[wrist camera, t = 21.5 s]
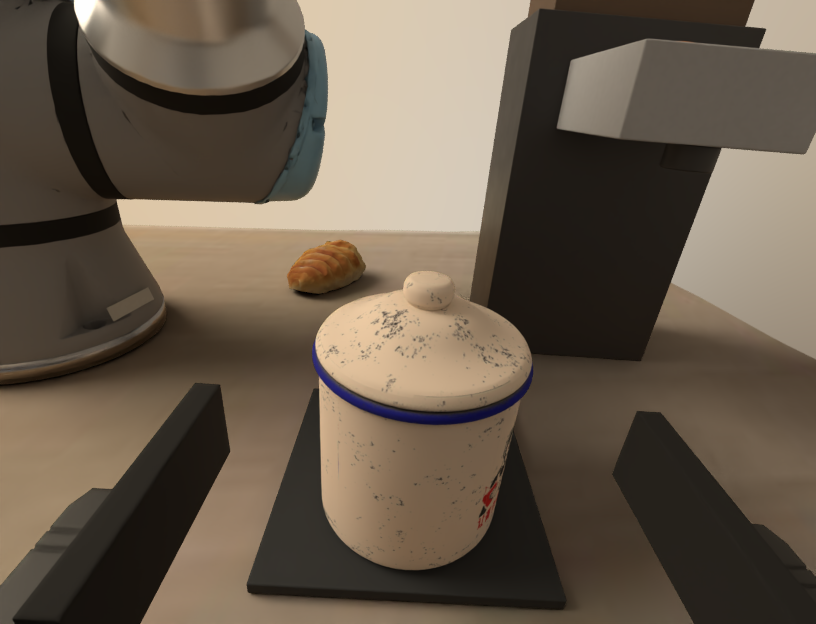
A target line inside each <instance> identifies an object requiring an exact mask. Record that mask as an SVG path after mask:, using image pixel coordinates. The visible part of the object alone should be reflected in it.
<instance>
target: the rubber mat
mask: <svg viewBox="0 0 816 624" xmlns="http://www.w3.org/2000/svg"><path fill="white" fill-rule="evenodd" d="M247 590H248V592H249V593H263V594H282V595H301V596H320V597H339V598H358V599H378V600H397V601H416V602H435V603H454V604H474V605H493V606H512V607H531V608H550V609H564V607H565V604H566V597H565V594H564V591H563V588H562V585H561V581H560V578H559V575H558V572H557V569H556V565H555V562H554V559H553V556H552V553H551V550H550V546H549V543H548V540H547V537H546V534H545V530H544V527H543V524H542V521H541V518H540V514H539V511H538V508H537V505H536V502H535V498H534V495H533V492H532V489H531V486H530V482H529V479H528V476H527V473H526V470H525V466H524V463H523V460H522V457H521V454H520V450H519V447H518V444H517V441H516V438H515V435H514V431H513V434H512V438H511V442H510V446H509V450H508V454H507V459H506V463H505V467H504V471H503V475H502V480H501V484H500V488H499V492H498V496H497V501H496V505H495V509H494V513H493V517H492V520H491V523H490V526H489V528H488V529H487V531H486V533H485V535H484V536H483V538H482V539H481V540H480V542H479V543H478V544H477V545H476V546H475V547H474V548H473V549H472V550H470V551H469V552H468V553H466V554H465V555H464V556H462V557H461V558H459V559H457V560H455V561H453V562H451V563H448V564H446V565H443V566H440V567H436V568H431V569H425V570H402V569H395V568H390V567H386V566H383V565H380V564H377V563H374V562H372V561H370V560H368V559H366V558H364V557H362V556H360V555H359V554H357V553H356V552H355V551H353V550H352V549H351V548H350V547H348V546H347V545H346V544H345V543H344V542H343V541H342V540H341V539H340V538H339V536H338V535H337V534H336V532H335V531H334V530H333V528H332V526H331V525H330V523H329V521H328V519H327V516H326V514H325V510H324V507H323V501H322V485H321V442H320V400H319V389H314V390H313V393H312V396H311V399H310V402H309V404H308V407H307V410H306V413H305V416H304V419H303V422H302V425H301V428H300V431H299V434H298V436H297V439H296V442H295V445H294V448H293V451H292V454H291V457H290V460H289V463H288V465H287V468H286V471H285V474H284V477H283V480H282V483H281V486H280V489H279V492H278V494H277V497H276V500H275V503H274V506H273V509H272V512H271V515H270V518H269V521H268V524H267V526H266V529H265V532H264V535H263V538H262V541H261V544H260V547H259V550H258V553H257V555H256V558H255V561H254V564H253V567H252V570H251V573H250V576H249V579H248V582H247Z"/></svg>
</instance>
